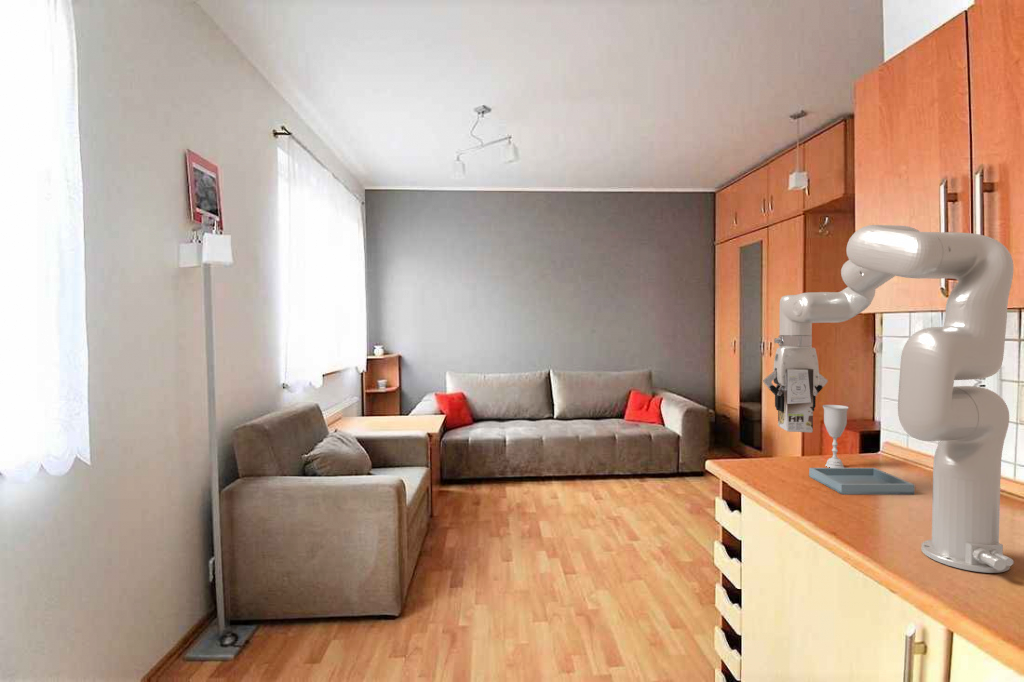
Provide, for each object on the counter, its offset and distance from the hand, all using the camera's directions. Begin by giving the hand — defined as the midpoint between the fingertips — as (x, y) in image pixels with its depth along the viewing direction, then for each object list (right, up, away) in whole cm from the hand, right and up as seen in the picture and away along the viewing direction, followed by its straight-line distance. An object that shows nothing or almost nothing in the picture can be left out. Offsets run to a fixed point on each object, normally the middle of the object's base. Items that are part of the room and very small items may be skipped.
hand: (795, 410), depth 145 cm
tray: (+18, -20, +2) cm, 27 cm away
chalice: (+23, -20, +21) cm, 37 cm away
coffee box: (0, -5, 0) cm, 5 cm away
